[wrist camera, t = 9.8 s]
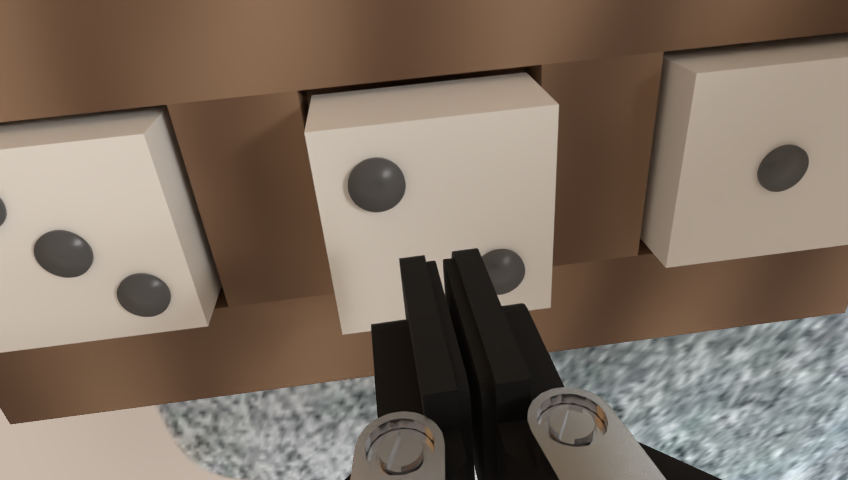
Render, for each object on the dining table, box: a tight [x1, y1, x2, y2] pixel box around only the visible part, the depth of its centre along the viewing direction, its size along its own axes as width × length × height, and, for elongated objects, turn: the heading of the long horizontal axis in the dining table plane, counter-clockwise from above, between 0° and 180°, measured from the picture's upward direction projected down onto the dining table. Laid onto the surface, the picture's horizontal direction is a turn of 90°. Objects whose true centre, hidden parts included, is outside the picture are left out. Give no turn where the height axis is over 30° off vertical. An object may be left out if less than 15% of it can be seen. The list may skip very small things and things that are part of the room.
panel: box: [0, 0, 848, 424], centre depth 19 cm, size 30×14×3 cm, turn 94°
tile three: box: [0, 105, 222, 353], centre depth 17 cm, size 6×6×3 cm
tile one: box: [640, 32, 848, 268], centre depth 18 cm, size 6×6×3 cm
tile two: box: [304, 72, 559, 335], centre depth 16 cm, size 6×6×3 cm
